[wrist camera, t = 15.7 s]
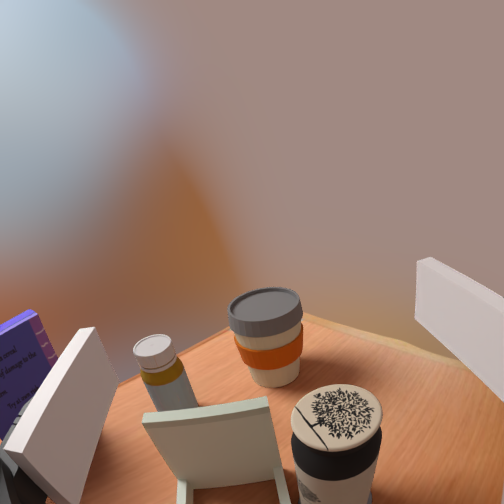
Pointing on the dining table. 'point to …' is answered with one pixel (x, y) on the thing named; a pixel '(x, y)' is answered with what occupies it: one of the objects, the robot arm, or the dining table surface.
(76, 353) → the robot arm
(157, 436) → the rack
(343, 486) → the travel mug
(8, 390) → the purple rectangular box
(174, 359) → the bottle
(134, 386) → the dining table surface
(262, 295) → the reusable coffee cup
